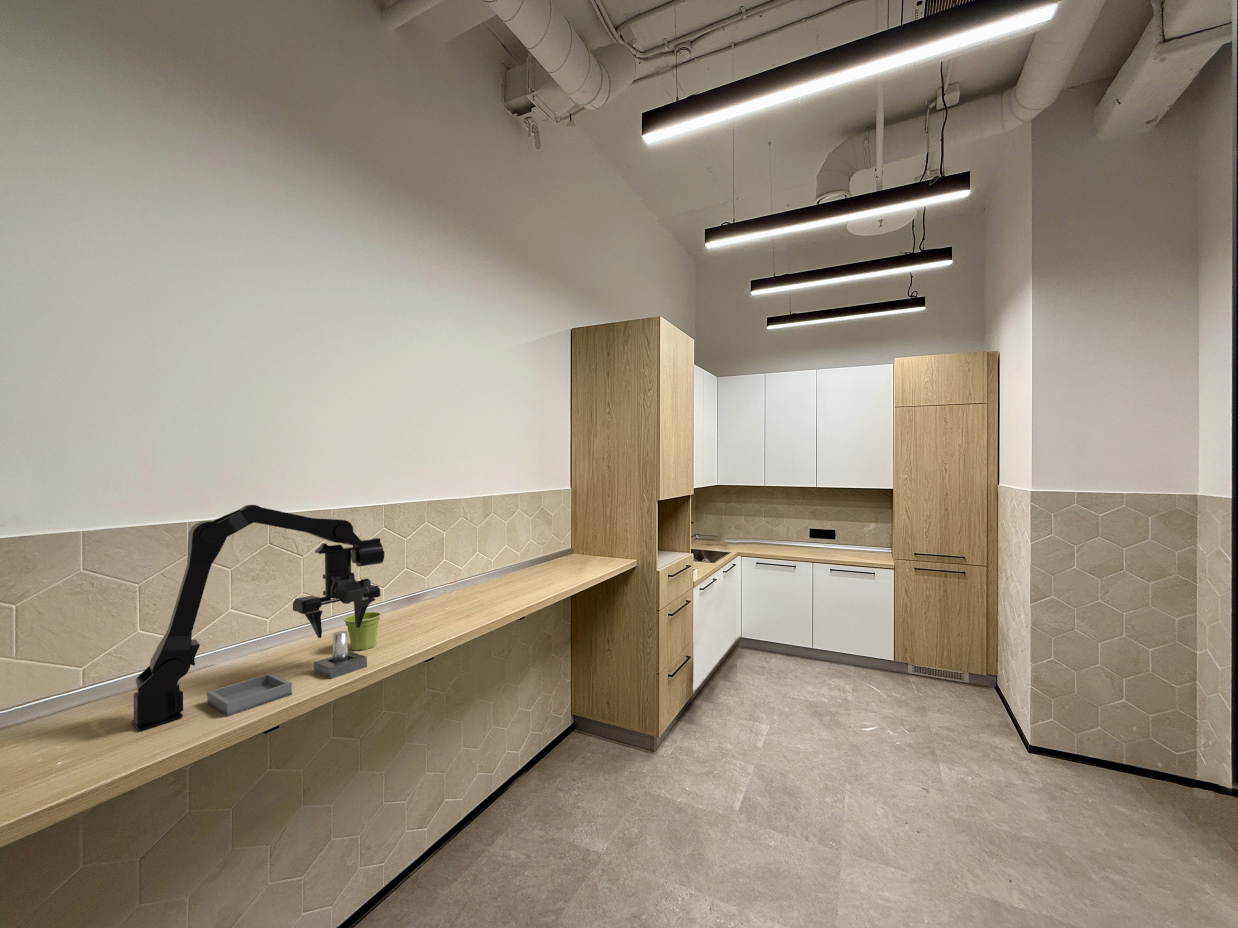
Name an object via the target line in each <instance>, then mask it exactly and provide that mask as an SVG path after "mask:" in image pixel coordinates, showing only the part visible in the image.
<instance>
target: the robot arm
mask: <svg viewBox="0 0 1238 928" xmlns="http://www.w3.org/2000/svg"><path fill="white" fill-rule="evenodd" d="M253 523H256V524H261V525H266V526H271V527H277V528H281V529H286V530H291V531H297V532H302V533H306V534H309V535H311V536H314V537H316V538H318V539H321V540H325V541H327V542H331V543H336V544H334V545H328V544H327V543H324V542H323V543H321V545H320V546H319V547H318V548H317V549H315V550H314V553H315V554H318V555H323V554H324V574H322V580H324V583H325V584H324V585H325V587H324V588H325V589H324V590H323V591H322V596H321V597H319V596H314V595H307V596H302V597H298V598H295V600H293V602H292V611H293V612H297V613H299V614H302V615H304V616H305V618H306V619H307V620H308V622H309V624H310V626H311V627H312V628H313V631H314V633H315V634H316V637H317V638H318V639H321V638H322V636H323V628H322V615H323V613H324V612H323V610H321V607H322V606H323V605H329V604H334V603H338V602H341V603H342V604H346V605H347V604H351V603H353V609H354V615H355V624H356V628H360V625H361V623H362V620H363V617H364V614H365V613H366V611H367V609H368V607H369V606H370V604H372V603H373V602H374V601H376V599H377V598H380V597H381V588H380V587H379V586H378V585H377V584H376V585H374V584H371V582H372V581H371V580H370V579H369V578H363V579H360V580H357V581H356V578H355V572H352V564H355V565H356V566H357V567H358V568H359V567H367V566H373V565H378V564H379V565H380V564H383V562H384V560H385V550H384V547H383V544H382V543H381V538H379V537H376V538H375V537H374V538H371V539H364V540H363V539H362V540H361V538H360V537H359V536H357V534H356V533H355V532H354V526H353V525H352V523H351V522H350V521H349V520H346V519H336V518H335V519H334V518H315V517H309V516H304V515H300V514H294V513H292V512H291V513H289V512H285V511H279V510H275V509H270V508H265V507H261V506H259V505H258V504H247V505H244V506H242V507H241V508H239V509H237V510H235V511H232V512H230V513H228V514H225V515H223V516H221V517H218V518H217V519H214V520H202V521H199V522H197V523H195V524H194V525H192V527H190V528H189V531H188V535H187V536H188V540H187V563H186V568H185V570H184V573H183V577H182V580H181V584H180V587H179V592H178V595H177V598H176V600H175V605H174V607H173V610H172V613H171V618H170V622H169V624H168V628H167V630H166V631H165V634H164V636H163V637H162V638H161V640H160V642H159V643H158V646H157V647H156V649H155V651H154V653H153V655H152V657H151V659H150V661H149V666H147V667H146V669H144V670H143V671H142V672H141V673H139V675H138V676H137V677H136V678H135V679H134V680H135V684H136V689H137V692H134V693H133V719H132V720H131V721H130V724H131V725H132V726H133V727H134V728H135V729H136V730H137V731H138V732H139V731H144V730H147V729H150V728H153V727H157V726H160V725H163V724H166V723H168V722H173V721H175V720H178V719H181V718H183V712H184V691H183V690H182V689H181V688H180V684H178V683H179V681H180V679H182V678H183V677H185V676H186V675H187V673H188V672H189V670H190V669H191V666H194V667H195V666H196V662H195V658H196V656H197V653H198V651H199V649H200V647H201V644H200V643H199V641H198V640H197V639H192V638H193V637H192V636H193V635H192V634H193V630H194V626H195V622H196V620H197V619H196V618H197V615H198V614H199V613H198V612H199V608H200V605H201V601H202V599H203V598H202V597H203V594H204V592H205V589H206V584H207V581H208V577H209V574H210V569H211V567H212V565H213V564H214V561H216V559H217V557H218V555H219V553H220V552H221V550H222V548H223V546H224V544H225V542H226V540H227V538H228V537H230V536H232V535H234V534H236V533H237V532H239V531H241V530H243V529H245V528H247V527H248V526H250V525H252V524H253ZM342 544H343V545H347V546H350V547H343V545H342Z"/></svg>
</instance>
